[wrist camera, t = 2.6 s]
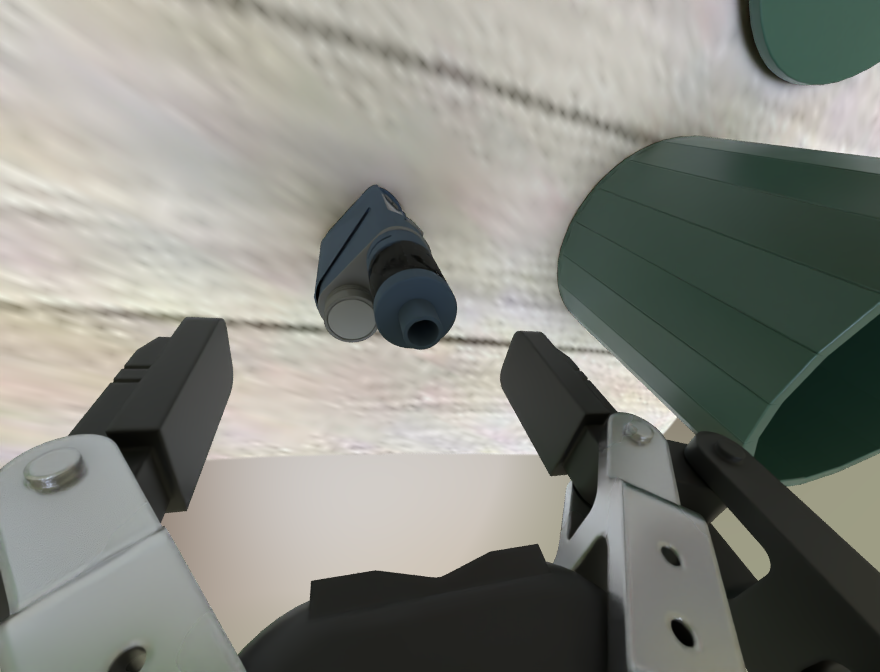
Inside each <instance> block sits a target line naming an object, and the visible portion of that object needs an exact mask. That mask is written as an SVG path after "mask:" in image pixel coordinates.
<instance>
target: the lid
mask: <svg viewBox="0 0 880 672" xmlns="http://www.w3.org/2000/svg"><path fill="white" fill-rule="evenodd" d="M749 10H750V22H751V28H752V32H753V37H754V41H755V44H756V46H757V49H758V51H759V54H760V56H761V58H762V59H763V61H764V62H765V64H766V65H767V67H768V68H769V69H770V70H771V71H772V72H773V73H774V74H775V75H776V76H778V77H780V78H781V79H783V80H785V81H787V82H790V83H794V84H798V85H824V84H830V83H835V82H839V81H841V80H844V79H847V78H850V77H853V76H855V75H857V74H859V73H861V72H863V71H865V70H867V69H869V68H871V67H872V66H874V65H876V64H877V63H879V62H880V0H749Z"/></svg>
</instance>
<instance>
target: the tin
mask: <svg viewBox="0 0 880 672" xmlns="http://www.w3.org/2000/svg"><path fill="white" fill-rule="evenodd" d="M557 274H558V286H559V291H560V295H561V297H562V300H563V302H564V304H565V306H566V307H567V309H568V310H569V311H570V312H571V313H572V315H573V316H574V317H575V318H576V319H577V320H578V322H579V323H580V324H581V325H583V326H584V327H585V328H586V329H587V330H588V331H589V332H590V333H591V334H592V335H593V336H594V337H595V338H596V339H597V340H598V341H599V342H600V343H601V344H602V345H603V346H604V347H605V348H606V349H607V350H608V351H609V352H611V353H612V354H613V355H614V356H615V357H616V358H617V359H618V360H619V361H620V362H621V363H622V364H623V365H624V366H625V367H626V368H627V369H628V370H629V371H630V372H631V373H632V374H633V375H634V376H635V377H636V378H637V379H638V380H640V381H641V382H642V383H643V384H644V385H645V386H646V387H647V388H648V389H649V390H650V391H651V392H652V393H653V394H654V395H655V396H656V397H657V398H658V399H659V400H660V401H661V402H662V403H663V404H664V405H665V406H666V407H668V408H669V409H670V410H671V411H672V412H673V413H674V414H675V415H676V416H677V417H678V418H679V419H680V420H681V421H682V422H683V423H684V424H685V425H686V426H687V427H688V428H689V429H690V430H691V431H692V432H694V434H695V435H696V434H697V433H698V432H700V431H710V432H714V433H718V434H720V435H723V436H725V437H727V438H729V439H731V440H732V441H734V442H736V443H737V444H739V445H740V446H741V447H743V448H744V449H745V450H747V451H748V452H749V453H750V454H751V455H752V456H753V457H754V458H755V459H757V460H758V461H759V462H760V463H761V464H762V465H763V466H764V467H765V468H766V469H767V470H768V471H770V472H771V473H772V474H773V475H774V476H775V477H776V478H777V479H778V480H779V481H780V482H782V483H783V484H784V485H785V486H786V487H787V486H794V485H801V484H804V483H807V482H810V481H813V480H816V479H819V478H822V477H825V476H828V475H831V474H834V473H837V472H839V471H841V470H844V469H846V468H848V467H850V466H853V465H855V464H857V463H859V462H862V461H863V460H866V459H868V458H870V457H872V456H875V455H877V454H879V453H880V158H877V157H869V156H860V155H852V154H844V153H836V152H827V151H819V150H811V149H803V148H795V147H786V146H778V145H770V144H762V143H753V142H745V141H737V140H729V139H721V138H712V137H704V136H690V137H676V138H671V139H666V140H663V141H660V142H657V143H655V144H652V145H650V146H648V147H646V148H644V149H642V150H640V151H638V152H636V153H635V154H633V155H631V156H630V157H628V158H627V159H625V160H624V161H623V162H621V163H620V164H619V165H618V166H616V167H615V168H614V169H613V170H611V171H610V172H609V173H608V174H607V175H606V176H605V177H604V178H603V179H602V180H601V181H600V182H599V183H598V184H597V185H596V187H595V188H594V189H593V190H592V191H591V193H590V194H589V195H588V196H587V198H586V199H585V201H584V202H583V203H582V205H581V206H580V208H579V209H578V211H577V213H576V215H575V216H574V218H573V220H572V222H571V224H570V226H569V228H568V230H567V233H566V235H565V238H564V241H563V244H562V247H561V251H560V256H559V261H558V273H557Z"/></svg>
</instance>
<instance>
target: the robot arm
mask: <svg viewBox="0 0 880 672" xmlns="http://www.w3.org/2000/svg"><path fill="white" fill-rule="evenodd" d="M587 379H588V378H587V377H586V376H585V374H584V373H583V372H582V371H579V368H578V366H577V365H576V364H575V363H574V362H573V361H572V360H571V359H570V357H568V356H567V355H565V354H564V353H562V352H561V351H560V350H558V349H557V348H555V346H554V345H553V344H552V343H551V342H550V341H549V339H548V338H547V337H546V336H545V335H544V334H543V333H542V332H533V331H517V332H516V333H515V334H514V336H513V338H512V341H511V344H510V346H509V349H508V352H507V355H506V358H505V361H504V363H503V366H502V369H501V374H500V382H501V387H502V389H503V391H504V393H505V395H506V397H507V398H508V400H509V402H510V404H511V406H512V407H513V409H514V411H515V413H516V415H517V417H518V418H519V420H520V422H521V424H522V426H523V427H524V429H525V431H526V433H527V435H528V436H529V438H530V440H531V442H532V444H533V445H534V447H535V449H536V451H537V453H538V455H539V456H540V458H541V460H542V462H543V464H544V465H545V467H546V469H547V471H548V473H549V474H550V476H557V475H567V474H568V476H569V477H570V479H571V481H570V482H569V484H568V486H567V488H566V495H565V502H564V510H563V518H562V525H561V533H560V541H559V547H558V551H557V555H556V558H555V560H554V563H549V562H546V561H545V559H544V556H543V554H542V552H541V550H540V547H539V545H538V544H534V545H528V546H522V547H515V548H510V549H504V550H497V551H491V552H489V553H487V554H485V555H483V556H481V557H479V558H477V559H475V560H473V561H471V562H470V563H468V564H466V565H464V566H462V567H460V568H458V569H456V570H454V571H452V572H450V573H448V574H446V575H444V576H442V577H437V578H434V577H425V576H417V575H408V574H401V573H392V572H384V571H376V570H375V571H369V572H363V573H357V574H351V575H345V576H338V577H332V578H326V579H321V580H314V581H311V591H310V601H308V602H306V603H304V604H301V605H299V606H297V607H295V608H294V609H292V610H290V611H289V612H287V613H286V614H284V615H283V616H281V617H279V618H278V619H277V620H275V621H274V622H273V623H271V624H270V625H269V626H268V627H266V628H265V629H264V630H262V631H261V632H260V633H259V634H258V635H257V636H256V637H255V638H254V639H253V640H252V641H251V642H250V643H248V644H247V645H246V646H245V647H244V648H243V649H242V651H241V652H240V653H239V654H238V655H237V653H236V651H235V649H234V648H233V646H232V644H231V642H230V641H229V639H228V637H227V635H226V633H225V632H224V630H223V628H222V626H221V625H220V623H219V621H218V619H217V617H216V616H215V614H214V612H213V610H212V608H211V607H210V605H209V603H208V601H207V599H206V598H205V596H204V594H203V592H202V591H201V589H200V587H199V585H198V583H197V582H196V580H195V578H194V576H193V575H192V573H191V571H190V569H189V567H188V565H187V564H186V562H185V560H184V559H183V557H182V555H181V553H180V551H179V550H178V548H177V546H176V544H175V542H174V541H173V539H172V537H171V535H170V534H169V532H168V530H167V529H166V528H165V526H163V527H162V525H161V524H160V523H161V521H162V519H163V516H164V514H165V513H171V512H181V511H187V509H188V506H189V503H190V500H191V498H192V495H193V493H194V490H195V487H196V484H197V482H198V479H199V476H200V474H201V471H202V468H203V466H204V463H205V460H206V458H207V455H208V452H209V450H210V447H211V444H212V441H213V439H214V436H215V433H216V431H217V428H218V425H219V423H220V420H221V417H222V415H223V412H224V409H225V407H226V404H227V401H228V398H229V396H230V393H231V389H232V384H233V366H232V359H231V353H230V346H229V340H228V333H227V327H226V323H225V321H224V319H222V318H199V317H186V318H185V319H184V320H183V321H182V322H181V324H180V325H179V327H178V328H177V329H176V331H175V332H174V334H173V335H172V337H158V338H156V339H154V340H153V341H151V342H149V343H148V344H146V345H144V346H143V347H141V348H139V349H138V350H137V351H136V352H135V353H134V354H133V356H132V357H131V358H130V359H129V361H128V362H127V363H126V364H125V366H124V369H121V371H120V372H119V373H118V374H117V375H116V377H115V378H114V382H113V383H110V384H109V385H108V387H107V388H106V389H105V390H104V392H103V393H102V394H101V395H100V397H99V398H98V399H97V400H96V402H95V403H94V404H93V405H92V407H91V408H90V409H89V410H88V412H87V413H86V414H85V415H84V417H83V418H82V419H81V420H80V421H79V423H78V424H77V425H76V426H75V428H74V429H73V430H72V431H71V433H70V434H69V435H68V436H66V437H62V438H58V439H55V440H52V441H49V442H46V443H43V444H41V445H38V446H36V447H34V448H32V449H30V450H28V451H26V452H24V453H22V454H21V455H19V456H17V457H16V458H14V459H13V460H11V461H10V462H9V463H7V464H6V465H5V466H3V467H2V468H1V469H0V668H1V672H746V669H747V671H748V672H880V573H879V572H878V571H877V570H876V569H875V568H874V567H873V566H872V565H871V564H870V563H869V562H868V561H866V560H865V559H864V558H863V557H862V556H861V555H860V554H859V553H858V552H856V550H855V549H853V548H852V547H851V546H850V545H849V544H848V543H847V542H846V541H845V540H844V539H842V538H841V537H840V536H839V535H838V534H837V533H836V532H835V531H834V530H833V529H832V528H831V527H829V526H828V525H827V524H826V523H825V522H824V521H823V520H822V519H821V518H820V517H819V516H817V515H816V514H815V513H814V512H813V511H812V510H811V509H810V508H809V507H808V506H807V505H806V504H804V503H803V502H802V501H801V500H800V499H799V498H798V497H797V496H796V495H795V494H793V493H792V492H791V491H790V490H789V489H788V488H787V487H786V486H785V485H784V484H783V483H782V482H780V481H779V480H778V479H777V478H776V477H775V476H774V475H773V474H772V473H771V472H770V471H768V470H767V469H766V468H765V467H764V466H763V465H762V464H761V463H760V462H759V461H758V460H757V459H755V458H754V457H753V456H752V455H751V454H750V453H749V452H748V451H747V450H745V449H744V448H743V447H741V446H740V445H739V444H737V443H736V442H734V441H732V440H731V439H729V438H727V437H725V436H723V435H720V434H718V433H714V432H710V431H700V432H698V433H697V434H696V435H695V436H694V438H693V439H692V440H691V441H690V443H689V444H683V443H679V442H674V441H670V440H666V439H665V437H664V436H663V434H662V433H661V432H660V431H659V430H658V429H657V428H656V427H654V426H653V425H652V424H650V423H649V422H647V421H646V420H644V419H642V418H640V417H638V416H636V415H633V414H629V413H624V412H617V411H616V410H615V409H614V408H613V406H612V405H611V404H610V403H609V402H608V401H607V400H606V398H605V397H604V396H603V395H602V394H601V393H600V392H599V390H598V389H597V388H596V387H595V386H594V385H593V384H592V382H591V381H590V380H587ZM727 507H728V508H729V510H730V511H731V512H732V513H733V514H734V515H735V516H736V517H737V518H738V520H739V521H740V522H741V523H742V524H743V525H744V526H745V528H747V530H748V531H749V532H750V533H751V534H752V535H753V537H754V538H755V539H756V540H757V541H758V542H759V543H760V544H761V546H762V547H763V548H764V549H765V551H766V552H767V554H768V556H769V559H770V563H771V568H770V571H769V573H768V574H767V575H766V576H765V577H763V578H762V579H760V580H759V581H758V580H757V579H756V578H755V577H754V576H753V575H752V573H751V572H750V571H749V570H748V569H747V567H746V566H745V565H744V563H743V562H742V561H741V560H740V559H739V557H738V556H737V555H736V554H735V552H734V551H733V550H732V549H731V547H730V546H729V545H728V544H727V542H726V541H725V540H724V539H723V538H722V536H721V535H720V534H719V533H718V531H717V530H716V529H715V528H714V527H713V525H712V524H711V522H712V521H713V520H714V519H715V518H716V517H717V516H718V515H719V514H720V513H722V512H723V511H724V510H725V509H726V508H727Z"/></svg>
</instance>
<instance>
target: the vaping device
mask: <svg viewBox="0 0 880 672" xmlns="http://www.w3.org/2000/svg"><path fill="white" fill-rule="evenodd" d="M436 271H437V272H436ZM437 273H438V274H439V275H438V274H437ZM314 299H315V303H316V306H317V309H318V310H319V313H320V315H321V317H322V318H323V320H324V324H325V327H326V329H327V331H328V332H329V333H330V334H331V335H332V336H333V337H335V338H336V339H338V340H341V341H344V342H359V341H363V340H365V339H367V338H369V337H370V336H372V335H373V334H374V333H375V332H376V330H377V329H378V330H379V332H380V333H381V335H382V336H383V337H384V338H385V339H386V340H387V341H389V342H390V343H392V344H394V345H397V346H399V347H404V348H414V349H419V350H422V349H428V348H430V347H432V346H434V345H435V344H437V343H438V342H439V340H440V339H441V338H442V337H444V336H445V335H446V334H447V333H448V331H449V330H450V329H451V327H452V325H453V323H454V321H455V318H456V314H457V303H456V299H455V296H454V295H453V293H452V291H451V289H450V287H449V286H448V284H447V282H446V280H445V278H444V277H443V275H442V273H441V271H440V269H439V268H438V266H437V264H436V262H435V260H434V259H433V257H432V254H431V250H430V248H429V245H428V244H427V242H426V240H425V239H424V238H423V232H422V231H421V229H420V228H419V227H418V226H417V225H416V224H415V223H414V222H413V221H412V220H411V219H409V218H407V217H406V215H405V213H404V212H402V209H401V207H400V205H399V203H398V201H397V200H396V198H395V197H394V196H393V195H392V194H391V193H390V192H388V191H387V190H385V189H383V188H380V187H378V185H373V186H371V187H369V188H368V189H367V190H366V191H365V192H364V193H363V194H362V196H361V197H360V198H359V199H358V200H357V201H356V202H355V203H354V204H353V205H352V206H351V207H350V209H349V210H348V211H347V212H346V213H345V214H344V215H343V216H342V217H341V218H340V219H339V220H338V222H337V223H336V224H335V225H334V226H333V227H332V228H331V229H330V230H329V231H328V233H327V235H326V237H325V238H324V239H323V240H322V242H321V248H320V255H319V263H318V271H317V279H316V287H315V294H314Z"/></svg>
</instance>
